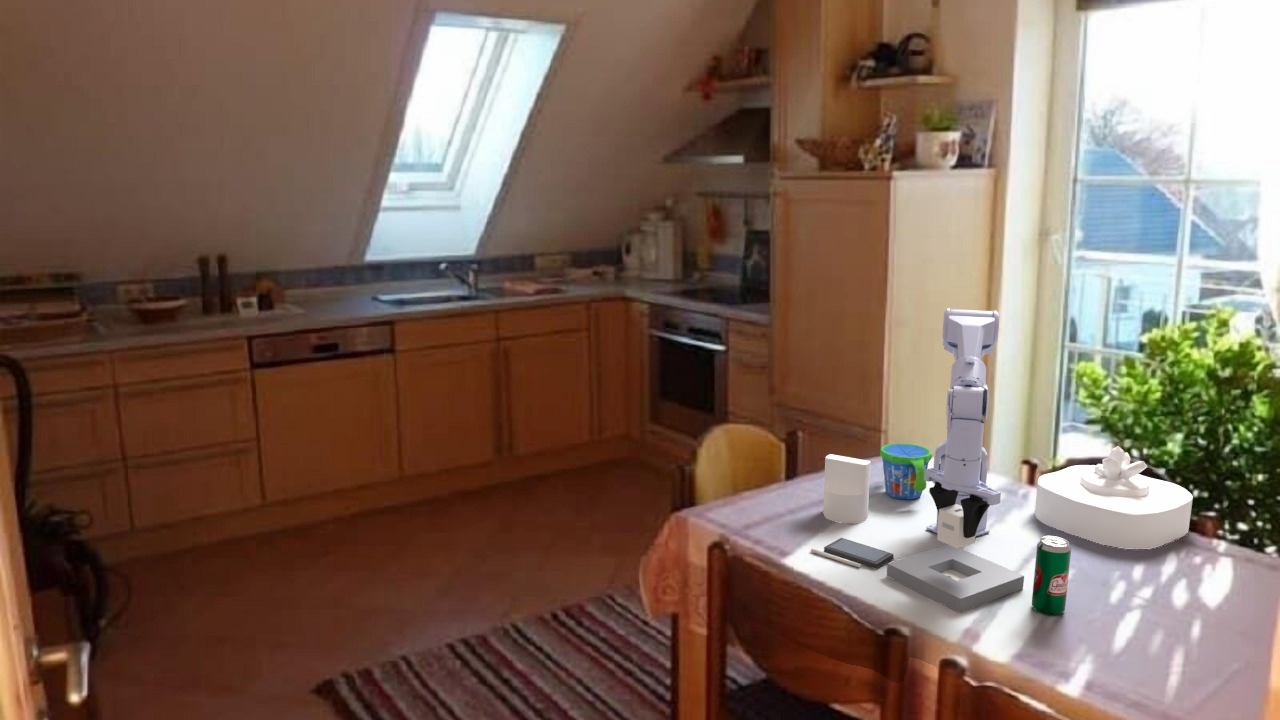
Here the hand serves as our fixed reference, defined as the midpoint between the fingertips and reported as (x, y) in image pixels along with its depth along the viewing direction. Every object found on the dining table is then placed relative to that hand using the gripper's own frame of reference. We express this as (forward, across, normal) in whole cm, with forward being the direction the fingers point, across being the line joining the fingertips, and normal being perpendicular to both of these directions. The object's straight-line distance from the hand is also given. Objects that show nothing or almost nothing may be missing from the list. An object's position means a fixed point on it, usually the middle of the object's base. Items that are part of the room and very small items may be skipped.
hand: (957, 531), depth 166 cm
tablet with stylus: (+9, -18, -7) cm, 21 cm away
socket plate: (+9, 0, 0) cm, 9 cm away
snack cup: (+10, -35, +25) cm, 44 cm away
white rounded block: (+10, -33, +6) cm, 35 cm away
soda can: (+10, +15, +5) cm, 18 cm away
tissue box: (+10, -2, +49) cm, 50 cm away
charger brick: (+2, 0, 0) cm, 2 cm away
